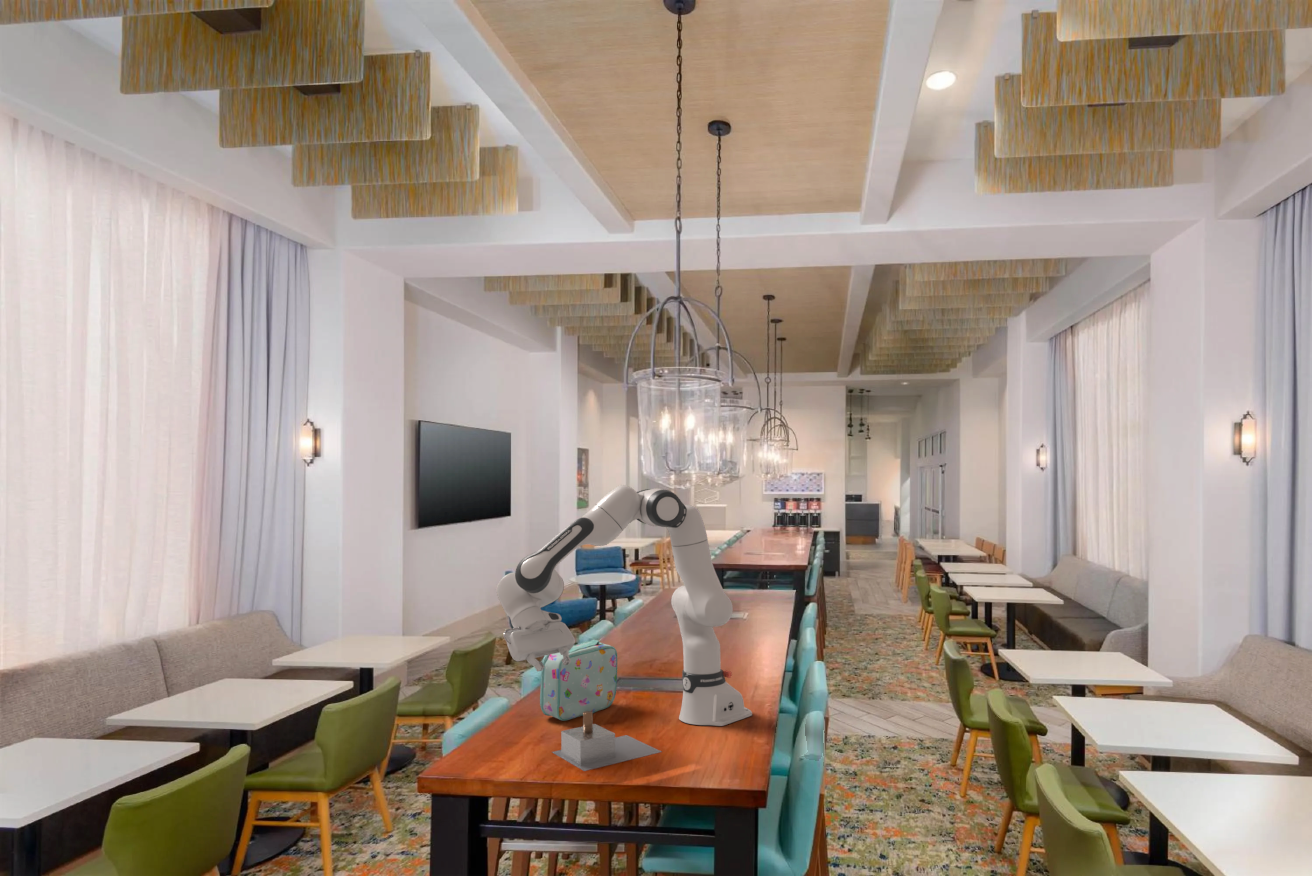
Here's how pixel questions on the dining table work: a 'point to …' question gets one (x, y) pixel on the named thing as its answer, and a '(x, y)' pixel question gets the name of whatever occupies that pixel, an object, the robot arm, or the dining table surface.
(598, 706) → the lunch box
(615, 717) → the dining table surface
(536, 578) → the robot arm
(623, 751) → the tray
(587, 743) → the steel cover
